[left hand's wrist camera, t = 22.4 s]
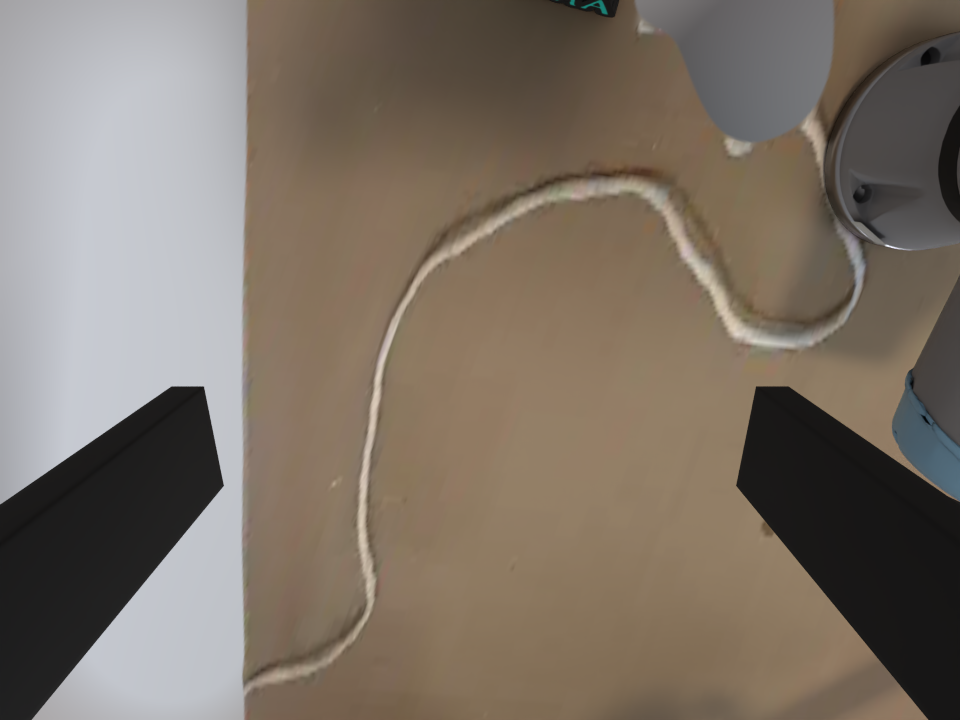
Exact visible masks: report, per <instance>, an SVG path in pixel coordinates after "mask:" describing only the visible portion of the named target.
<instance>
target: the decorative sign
mask: <svg viewBox="0 0 960 720" xmlns="http://www.w3.org/2000/svg"><path fill="white" fill-rule="evenodd" d="M550 1H552V2H556V3H564V4H565V5H567V6H569V7H572V8H577V9H580V10H584V11H592V10H593V9H595V12H596V13H597V14H599V15H602V16H606V17H614V16H615V13H616V10H617V6H618V2H619V0H550Z"/></svg>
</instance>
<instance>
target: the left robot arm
mask: <svg viewBox="0 0 960 720" xmlns="http://www.w3.org/2000/svg"><path fill="white" fill-rule="evenodd" d="M825 183H826V190H827V194H828V198H829V201H830V203H831V206H832V208H833V210H834V212H835V214H836V216H837V217H838V218H839V220H840V221H841V223H842V224H843V225H844V226H845V227H846V228H847V229H848V230H849V231H851V232H852V233H853V234H854V235H856V236H857V237H859V238H861V239H863V240H865V241H867V242H870V243H872V244H876V245H880V246H884V247H890V248H896V249H903V250H925V249H931V248H938V247H943V246H948V245H953V244H957V243H960V32H955V33H951V34H947V35H944V36H940V37H937V38H934V39H930V40H927V41H924V42H921V43H918V44H916V45H913V46H911V47H909V48H907V49H905V50H903V51H901V52H899V53H897V54H896V55H894V56H893V57H891V58H890V59H888V60H887V61H885V62H884V63H883V64H881V65H880V66H879V67H878V68H877V69H876V70H874V71H873V72H872V73H871V74H870V75H869V76H868V77H867V78H866V79H865V80H864V81H863V82H862V83H861V85H860V86H859V87H858V88H857V89H856V90H855V92H854V93H853V95H852V96H851V97H850V99H849V100H848V102H847V103H846V105H845V106H844V108H843V110H842V112H841V114H840V115H839V117H838V119H837V121H836V124H835V126H834V129H833V131H832V134H831V137H830V140H829V144H828V149H827V153H826V161H825ZM892 432H893V435H894V438H895V440H896V442H897V444H898V445H899V448H900V451H901V452H902V453H903V455H904V456H905V457H906V458H907V460H908V461H909V462H910V463H911V464H912V465H913V466H914V467H915V468H916V469H917V470H918V471H919V472H920V473H922V474H923V475H924V476H925V477H926V478H928V479H929V480H930V481H931V482H933V483H934V484H935V485H937V486H938V487H939V488H941V489H942V490H944V491H945V492H946V493H948V494H949V495H951V496H952V497H954V498H955V499H957V500H959V501H960V276H959V278H958V280H957V282H956V284H955V286H954V288H953V290H952V292H951V294H950V296H949V298H948V300H947V302H946V304H945V306H944V308H943V310H942V312H941V314H940V316H939V318H938V320H937V322H936V324H935V326H934V328H933V330H932V332H931V334H930V336H929V338H928V340H927V342H926V344H925V346H924V348H923V350H922V352H921V354H920V356H919V358H918V360H917V362H916V364H915V366H914V368H913V369H911V370H910V371H909V372H908V374H907V376H906V378H905V391H904V393H903V396H902V398H901V400H900V403H899V405H898V408H897V410H896V412H895V415H894V417H893V421H892ZM223 486H224V485H223V480H222V475H221V470H220V465H219V460H218V455H217V450H216V445H215V440H214V435H213V430H212V425H211V420H210V415H209V410H208V405H207V400H206V395H205V390H204V387H170V388H169V389H167V390H166V391H164V392H163V393H162V394H160V395H159V396H157V397H156V398H154V399H153V400H151V401H150V402H149V403H147V404H146V405H144V406H143V407H141V408H140V409H138V410H137V411H135V412H134V413H133V414H131V415H130V416H128V417H127V418H125V419H124V420H122V421H121V422H119V423H118V424H117V425H115V426H114V427H112V428H111V429H109V430H108V431H106V432H105V433H104V434H102V435H101V436H99V437H98V438H96V439H95V440H93V441H92V442H91V443H89V444H88V445H86V446H85V447H83V448H82V449H80V450H79V451H77V452H76V453H75V454H73V455H72V456H70V457H69V458H67V459H66V460H64V461H63V462H61V463H60V464H59V465H57V466H56V467H54V468H53V469H51V470H50V471H48V472H47V473H46V474H44V475H43V476H41V477H40V478H38V479H37V480H35V481H34V482H32V483H31V484H30V485H28V486H27V487H25V488H24V489H22V490H21V491H19V492H18V493H17V494H15V495H14V496H12V497H11V498H9V499H8V500H6V501H5V502H3V503H2V504H0V720H32V719H33V717H34V716H35V715H36V714H37V712H38V711H39V710H40V709H41V708H42V706H43V705H44V704H45V703H46V701H47V700H48V699H49V698H50V697H51V695H52V694H53V693H54V692H55V691H56V689H57V688H58V687H59V686H60V684H61V683H62V682H63V681H64V680H65V678H66V677H67V676H68V675H69V674H70V672H71V671H72V670H73V669H74V667H75V666H76V665H77V664H78V663H79V661H80V660H81V659H82V658H83V656H84V655H85V654H86V653H87V652H88V650H89V649H90V648H91V647H92V646H93V644H94V643H95V642H96V641H97V639H98V638H99V637H100V636H101V635H102V633H103V632H104V631H105V630H106V628H107V627H108V626H109V625H110V624H111V622H112V621H113V620H114V619H115V618H116V616H117V615H118V614H119V613H120V611H121V610H122V609H123V608H124V607H125V605H126V604H127V603H128V602H129V600H130V599H131V598H132V597H133V596H134V594H135V593H136V592H137V591H138V590H139V588H140V587H141V586H142V585H143V583H144V582H145V581H146V580H147V579H148V577H149V576H150V575H151V574H152V573H153V571H154V570H155V569H156V568H157V566H158V565H159V564H160V563H161V562H162V560H163V559H164V558H165V557H166V555H167V554H168V553H169V552H170V551H171V549H172V548H173V547H174V546H175V545H176V543H177V542H178V541H179V540H180V538H181V537H182V536H183V535H184V533H185V532H186V531H187V530H188V529H189V527H190V526H191V525H192V524H193V523H194V521H195V520H196V519H197V518H198V516H199V515H200V514H201V513H202V512H203V510H204V509H205V508H206V507H207V506H208V504H209V503H210V502H211V501H212V499H213V498H214V497H215V496H216V495H217V493H218V492H219V491H220V490H221V489H222V487H223ZM736 486H737V487H738V489H739V490H740V491H741V492H742V493H743V495H744V496H745V497H746V498H747V499H748V501H749V502H750V503H751V504H752V506H753V507H754V508H755V509H756V510H757V512H758V513H759V514H760V515H761V517H762V518H763V519H764V520H765V521H766V523H767V524H768V525H769V526H770V527H771V529H772V530H773V531H774V532H775V534H776V535H777V536H778V537H779V538H780V540H781V541H782V542H783V543H784V545H785V546H786V547H787V548H788V549H789V551H790V552H791V553H792V554H793V555H794V557H795V558H796V559H797V560H798V562H799V563H800V564H801V565H802V566H803V568H804V569H805V570H806V571H807V573H808V574H809V575H810V576H811V577H812V579H813V580H814V581H815V582H816V583H817V585H818V586H819V587H820V588H821V590H822V591H823V592H824V593H825V594H826V596H827V597H828V598H829V599H830V600H831V602H832V603H833V604H834V605H835V607H836V608H837V609H838V610H839V611H840V613H841V614H842V615H843V616H844V618H845V619H846V620H847V621H848V622H849V624H850V625H851V626H852V627H853V628H854V630H855V631H856V632H857V633H858V635H859V636H860V637H861V638H862V639H863V641H864V642H865V643H866V644H867V646H868V647H869V648H870V649H871V650H872V652H873V653H874V654H875V655H876V656H877V658H878V659H879V660H880V661H881V663H882V664H883V665H884V666H885V667H886V669H887V670H888V671H889V672H890V674H891V675H892V676H893V677H894V678H895V680H896V681H897V682H898V683H899V684H900V686H901V687H902V688H903V689H904V691H905V692H906V693H907V694H908V695H909V697H910V698H911V699H912V700H913V702H914V703H915V704H916V705H917V706H918V708H919V709H920V710H921V711H922V712H923V714H924V715H925V716H926V717H927V719H928V720H960V502H958V501H956V500H954V499H952V498H950V497H948V496H946V495H945V494H943V493H942V492H941V491H939V490H938V489H936V488H935V487H933V486H932V485H930V484H929V483H928V482H926V481H925V480H923V479H922V478H920V477H919V476H917V475H916V474H914V473H913V472H912V471H910V470H909V469H907V468H906V467H904V466H903V465H901V464H900V463H899V462H897V461H896V460H894V459H893V458H891V457H890V456H888V455H887V454H885V453H884V452H883V451H881V450H880V449H878V448H877V447H875V446H874V445H872V444H871V443H870V442H868V441H867V440H865V439H864V438H862V437H861V436H859V435H858V434H856V433H855V432H854V431H852V430H851V429H849V428H848V427H846V426H845V425H843V424H842V423H841V422H839V421H838V420H836V419H835V418H833V417H832V416H830V415H829V414H827V413H826V412H825V411H823V410H822V409H820V408H819V407H817V406H816V405H814V404H813V403H812V402H810V401H809V400H807V399H806V398H804V397H803V396H801V395H800V394H798V393H797V392H796V391H794V390H793V389H791V388H790V387H756V390H755V395H754V400H753V405H752V410H751V415H750V420H749V425H748V430H747V435H746V440H745V445H744V450H743V455H742V460H741V465H740V470H739V475H738V480H737V485H736Z"/></svg>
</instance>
